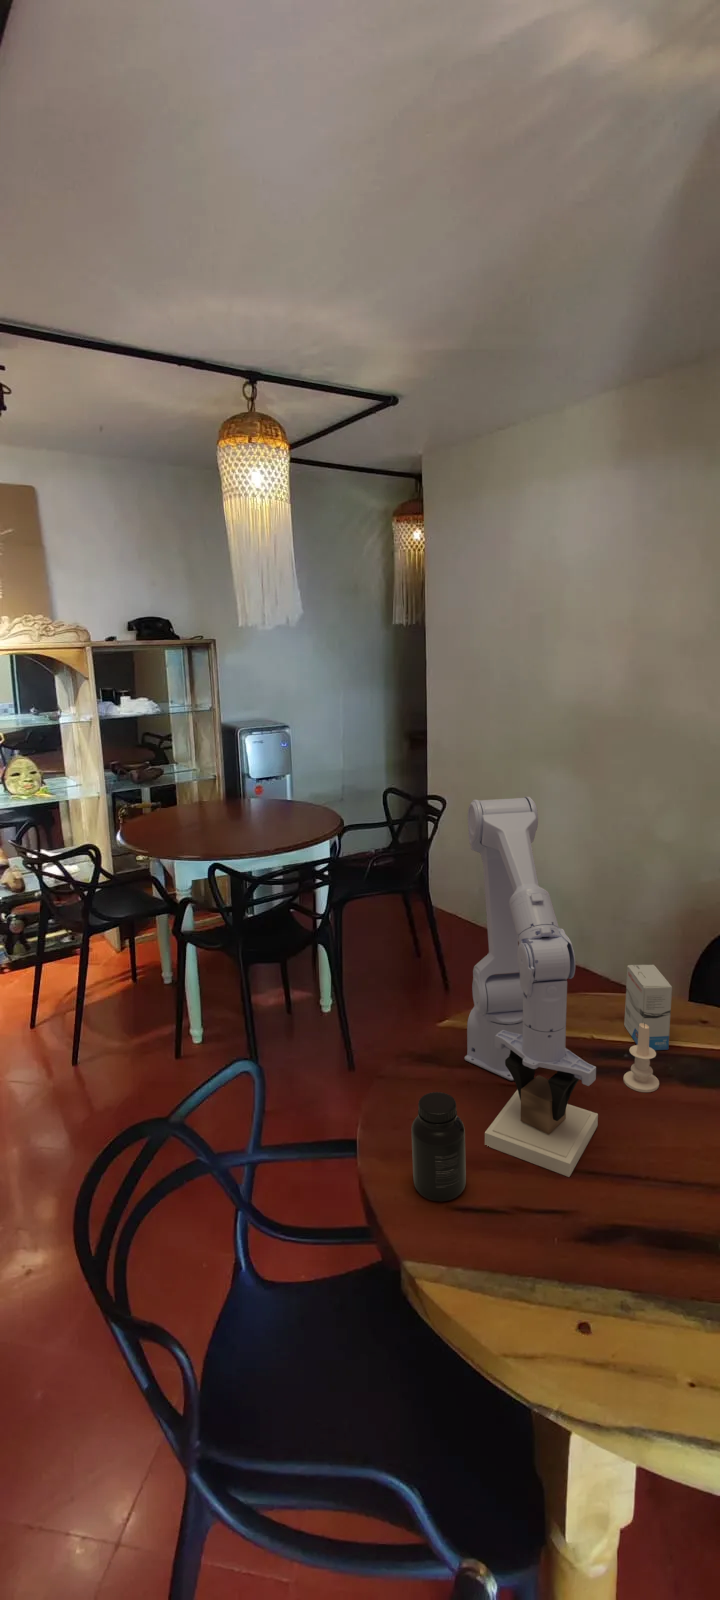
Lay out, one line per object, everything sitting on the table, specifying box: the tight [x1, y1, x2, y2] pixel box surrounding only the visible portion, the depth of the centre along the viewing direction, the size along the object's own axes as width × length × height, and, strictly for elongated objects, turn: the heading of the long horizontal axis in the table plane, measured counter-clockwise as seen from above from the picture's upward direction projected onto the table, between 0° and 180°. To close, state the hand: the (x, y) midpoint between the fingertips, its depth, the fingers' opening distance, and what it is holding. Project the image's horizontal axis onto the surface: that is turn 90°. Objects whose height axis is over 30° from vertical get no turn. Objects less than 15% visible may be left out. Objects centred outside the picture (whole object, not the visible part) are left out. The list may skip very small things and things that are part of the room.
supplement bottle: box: [411, 1091, 467, 1202], centre depth 98 cm, size 7×7×12 cm
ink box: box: [624, 964, 673, 1051], centre depth 130 cm, size 8×5×12 cm, turn 179°
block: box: [521, 1074, 566, 1134], centre depth 106 cm, size 4×4×5 cm
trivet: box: [484, 1089, 599, 1178], centre depth 107 cm, size 12×12×2 cm
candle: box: [623, 1022, 660, 1093], centre depth 117 cm, size 5×5×10 cm
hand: (542, 1109), depth 106 cm, fingers closed on block, 4 cm apart
